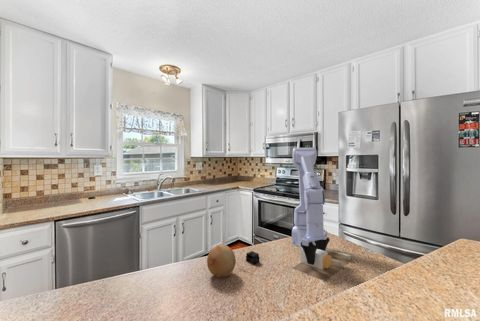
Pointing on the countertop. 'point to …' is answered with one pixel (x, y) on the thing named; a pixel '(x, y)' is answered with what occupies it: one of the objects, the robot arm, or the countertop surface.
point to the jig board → (337, 263)
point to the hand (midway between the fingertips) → (315, 260)
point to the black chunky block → (253, 257)
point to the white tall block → (318, 259)
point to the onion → (221, 260)
